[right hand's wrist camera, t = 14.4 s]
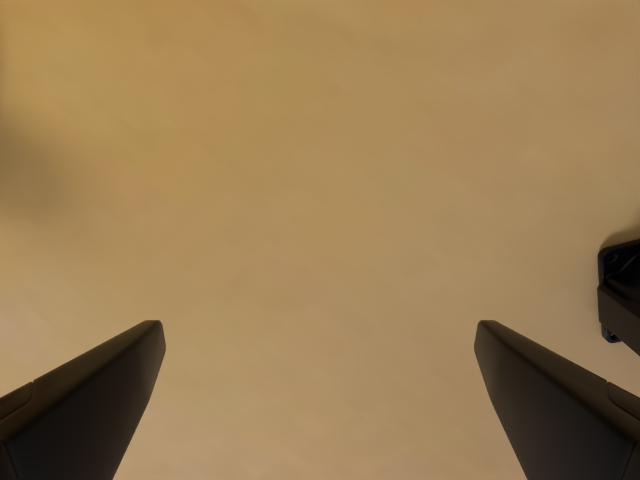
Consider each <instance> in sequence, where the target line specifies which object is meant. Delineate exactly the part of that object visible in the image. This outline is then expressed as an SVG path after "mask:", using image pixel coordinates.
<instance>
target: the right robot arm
mask: <svg viewBox="0 0 640 480" xmlns="http://www.w3.org/2000/svg"><path fill="white" fill-rule="evenodd" d="M610 254H611V256H610V258H608V259H607V257H608V255H610ZM598 273H599V285H598V288H597V293H598V310H599V321H600V322H601V327H602V336H603V338H605V339H606V340H607V341H608V342H610V343H616V342H620V341H623V342H624V343H625V344H626V345H627V346H629V347H630V348H631V349H632V350H633V351H634V352H636V353H637V354H638V355H639V356H640V239H638V240H634V241H630V242H626V243H622V244H618V245H614V246H611V247H607V248H604V249H602V250H601V251H600V252H599V254H598ZM612 334H613V335H612ZM165 350H166V344H165V338H164V332H163V326H162V323H161V322H160V321H159V320H146V321H143V322H142V323H140V324H138V325H136V326H134V327H132V328H130V329H128V330H127V331H125V332H123V333H121V334H119V335H117V336H115V337H114V338H112V339H110V340H108V341H106V342H104V343H102V344H100V345H99V346H97V347H95V348H93V349H91V350H89V351H87V352H86V353H84V354H82V355H80V356H78V357H76V358H74V359H72V360H71V361H69V362H67V363H65V364H63V365H61V366H59V367H57V368H56V369H54V370H52V371H50V372H48V373H46V374H44V375H43V376H41V377H39V378H37V379H35V380H34V381H33V382H29V383H27V384H26V385H24V386H22V387H20V388H18V389H16V390H14V391H12V392H10V393H9V394H7V395H5V396H3V397H1V398H0V480H113V478H114V475H115V473H116V471H117V469H118V467H119V465H120V462H121V460H122V458H123V456H124V454H125V452H126V450H127V447H128V445H129V443H130V441H131V439H132V437H133V435H134V432H135V430H136V428H137V426H138V424H139V422H140V419H141V417H142V415H143V413H144V411H145V409H146V406H147V404H148V402H149V399H150V397H151V394H152V391H153V388H154V385H155V382H156V379H157V376H158V373H159V370H160V367H161V364H162V361H163V358H164V355H165ZM474 350H475V355H476V358H477V361H478V364H479V367H480V370H481V373H482V376H483V379H484V382H485V385H486V388H487V391H488V394H489V397H490V399H491V402H492V404H493V406H494V409H495V411H496V413H497V415H498V417H499V419H500V422H501V424H502V426H503V428H504V430H505V432H506V435H507V437H508V439H509V441H510V443H511V445H512V447H513V450H514V452H515V454H516V456H517V458H518V460H519V462H520V465H521V467H522V469H523V471H524V473H525V475H526V478H527V480H640V398H639V397H637V396H635V395H633V394H631V393H630V392H628V391H626V390H624V389H622V388H620V387H618V386H616V385H614V384H613V383H611V382H607V381H606V380H605V379H603V378H601V377H599V376H598V375H596V374H594V373H592V372H590V371H588V370H586V369H584V368H583V367H581V366H579V365H577V364H575V363H573V362H571V361H569V360H568V359H566V358H564V357H562V356H560V355H558V354H556V353H554V352H553V351H551V350H549V349H547V348H545V347H543V346H541V345H540V344H538V343H536V342H534V341H532V340H530V339H528V338H526V337H525V336H523V335H521V334H519V333H517V332H515V331H513V330H511V329H510V328H508V327H506V326H504V325H502V324H500V323H498V322H497V321H494V320H481V321H480V322H479V323H478V326H477V332H476V338H475V344H474Z"/></svg>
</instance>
